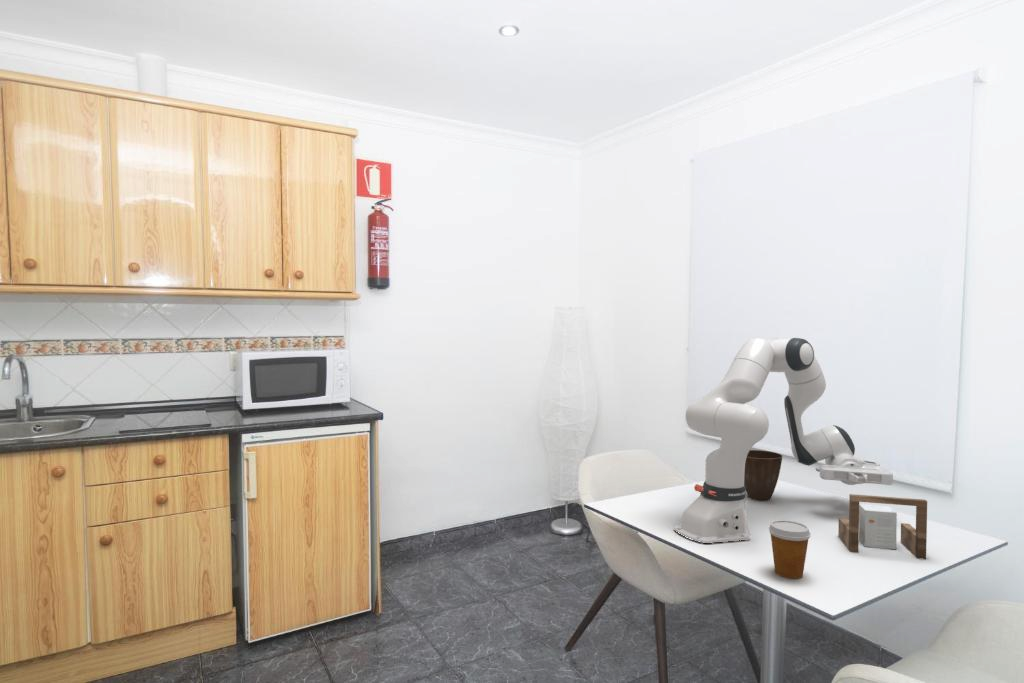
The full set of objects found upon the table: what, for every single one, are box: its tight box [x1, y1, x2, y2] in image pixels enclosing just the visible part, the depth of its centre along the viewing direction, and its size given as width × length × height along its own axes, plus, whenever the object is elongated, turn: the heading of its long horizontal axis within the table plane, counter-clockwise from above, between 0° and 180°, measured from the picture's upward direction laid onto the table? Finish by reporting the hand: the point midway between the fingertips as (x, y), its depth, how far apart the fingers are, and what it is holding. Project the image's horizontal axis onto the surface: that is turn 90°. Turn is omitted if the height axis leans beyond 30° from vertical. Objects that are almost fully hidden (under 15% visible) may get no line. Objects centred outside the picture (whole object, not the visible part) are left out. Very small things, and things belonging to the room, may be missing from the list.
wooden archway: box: [837, 493, 928, 560], centre depth 161 cm, size 12×18×16 cm, turn 74°
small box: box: [859, 504, 898, 550], centre depth 163 cm, size 8×6×10 cm
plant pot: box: [744, 449, 783, 502], centre depth 208 cm, size 15×15×16 cm
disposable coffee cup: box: [768, 519, 812, 580], centre depth 144 cm, size 10×10×12 cm
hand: (861, 480), depth 177 cm, fingers closed
